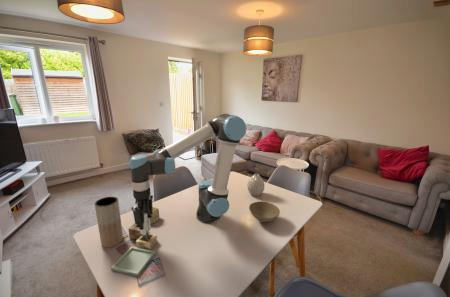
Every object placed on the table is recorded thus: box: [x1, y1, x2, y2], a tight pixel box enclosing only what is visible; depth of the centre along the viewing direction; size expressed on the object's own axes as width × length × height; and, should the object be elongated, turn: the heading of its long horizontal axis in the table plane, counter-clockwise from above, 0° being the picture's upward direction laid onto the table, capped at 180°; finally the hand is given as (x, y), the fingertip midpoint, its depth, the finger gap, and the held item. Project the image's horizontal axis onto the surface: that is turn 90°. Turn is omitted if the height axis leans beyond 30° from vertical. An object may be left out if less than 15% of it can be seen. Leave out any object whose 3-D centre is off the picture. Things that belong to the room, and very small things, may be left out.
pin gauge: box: [143, 212, 150, 240], centre depth 99 cm, size 3×3×14 cm
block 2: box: [135, 232, 158, 250], centre depth 101 cm, size 7×7×4 cm
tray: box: [110, 245, 156, 277], centre depth 91 cm, size 13×13×2 cm
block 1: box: [128, 222, 142, 241], centre depth 107 cm, size 7×7×6 cm
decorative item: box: [150, 206, 160, 225], centre depth 121 cm, size 10×10×10 cm
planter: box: [94, 195, 124, 248], centre depth 101 cm, size 10×10×23 cm
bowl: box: [248, 200, 281, 223], centre depth 122 cm, size 18×18×8 cm
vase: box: [246, 173, 265, 197], centre depth 153 cm, size 13×13×17 cm
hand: (145, 231), depth 100 cm, fingers closed on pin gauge, 3 cm apart
